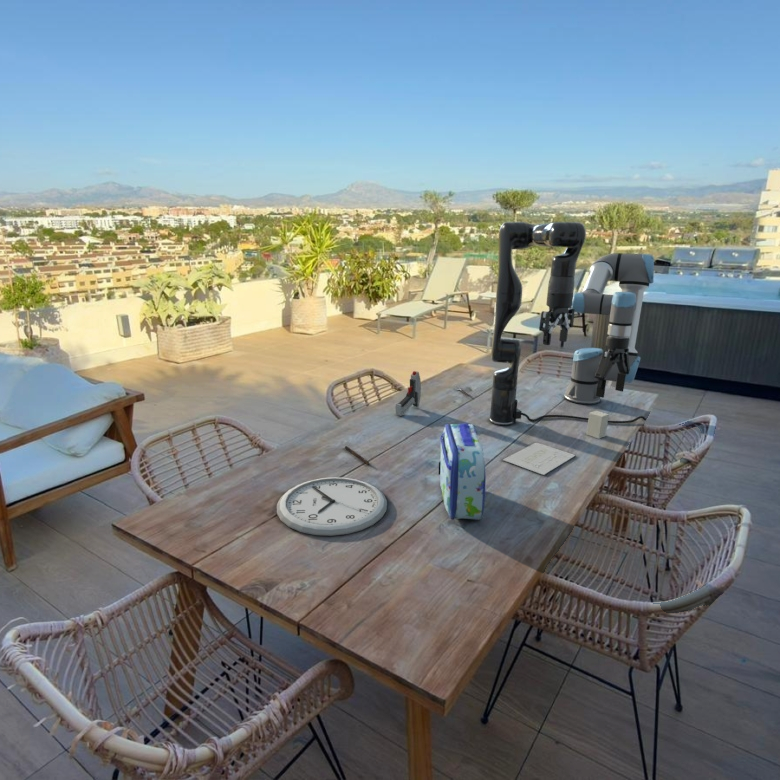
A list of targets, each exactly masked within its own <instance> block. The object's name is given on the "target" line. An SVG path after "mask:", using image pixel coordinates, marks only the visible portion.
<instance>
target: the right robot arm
mask: <svg viewBox="0 0 780 780" xmlns="http://www.w3.org/2000/svg"><path fill="white" fill-rule="evenodd" d="M654 272H655V257H654V256H653V254H649V253H648V254H646V253H620V252H612V253H609V254H606V255H603V256H601V257H599V258H598V259H596V260H595V261H594V262H592V264H591V265H590V267H589V269H588V278H587V280H586V282H585V284H584V286H583V288H582V291H580V292H573V301H572V306H571V307H570V308H571V309H574V310H575V311H574V313H577V314H589V315H600V316H601V315H602V316H609V320H608V325H607V336H606V340H605V347H607V348H608V349H607V350H608V351H607V350H603V349H602V348H598V347H585V348H579V349H576V350H575V351H574V354H573V359H572V366H571V374H570V382H569V383H568V386H567V387H566V390H565V391H564V395H563V397H564V399H565V400H566V401H568V402H570V403H574V404H578V405H579V404H580V405H596V404H599V403H600V402H601V399H602V398H603V399H604V398H605V394H606V393H605V392H606V385H607V381H608V382H609V381H610V382H616V383H615V388H614V389H615V391H618V392H624V388H625V383H627V384H631V383H633V382H634V380H635V378H636V374H637V371H638V368H639V365H640V362H641V356H638V354H639V352H638V350H636V343H637V337H638V329H639V324H640V317H641V313H642V306H643V299H644V293H645V291H647V289H649V288H650V284H653V283H654V278H655V277H654V274H655V273H654ZM608 282H618V286H619V288H620V290H621V291H616V292H614V293H613V294H606V293H604V292H605V289H606V287H607V284H608Z"/></svg>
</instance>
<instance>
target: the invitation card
mask: <svg viewBox="0 0 780 780" xmlns="http://www.w3.org/2000/svg"><path fill="white" fill-rule="evenodd" d="M576 456H577V455H576V454H573V453H570V452H567V451H565V450H561V449H558V448H555V447H552V446H549V445H546V444H543V443H539V442H534V443H532V444H529V445H528V446H526V447H524V448H522V449H520V450H518V451H516V452H514V453H512V454H510V455H509V456H507V457H505V458H503V459H502V461H503V462H506V463H509V464H511V465H514V466H518V467H520V468H523V469H525V470H528V471H531V472H534V473H536V474H539V475H541V476H545V475H547V474H548V473H550V472H552V471H554V469H556V468H558V467H559V466H561V465H563V464H564V463H566V462H568V461H570V460H571V459H572V458H574V457H576Z"/></svg>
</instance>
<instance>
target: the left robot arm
mask: <svg viewBox="0 0 780 780" xmlns="http://www.w3.org/2000/svg"><path fill="white" fill-rule="evenodd" d="M586 237H587V231H586V227H585V225H584V224H583V223H581V222H578V221H577V222H576V221H575V222H574V221H556V222H547V223H540V224H537V225H535V224H532V223H529V222H525V221H508V222H503V223H502V225H501V226H500V228H499V230H498V242H497V243H498V245H497V246H498V266H497V267H498V269H497V283H496V290H495V291H496V293H495V310H494V311H495V313H494V325H493V335H492V339H491V340H492V341H491V348H490V350H491V351H490V356H491V357H490V358H491V361H492V362H494V363H499V364H509V365H508V366H507V367H504V368H501V369H497V370H495V371H494V372H493V374H492V388H491V399H490V410H489V411H490V413H489V414H490V415H489V422H490V423H491V424H494V425H497V426H511V425H513V424H516V423H517V420H521V419H522V416H523V417H525V418H526V419H527V420H528V421H529V422H537V421H539V420H542V419H544V418H567V419H575V420H583V421H588V419H589V417H583V416H575V415H567V414H566V415H565V414H545V415H540V416H539V417H537V418H534V419H533V418H531V417H530V416H529V415H528V414H527V413H524V412H522V410H521V409H519V408H518V399H517V388H518V377H519V376H518V375H519V366H520V359H521V353H522V352H521V351H522V343H521V341H520V340H519V339H515V338H502V335H503V333H504V331H505V329H506V327H507V325H508V324H509V323H510V322H511V320H512V319H513V318H514V316H515V315H516V314H517V312H518V311H519V309H520V308H521V306H522V301H523V300H522V299H523V284H522V281H521V280H520V277H519V276H518V274H517V271H516V270H515V268H514V265H513V259H512V251H513V250H524V249H528V248H530V247H533V246H537V247H547V248H548V247H551V248H552V247H555V248H566V249H565V251H564V252H563V253H561V254H558V255H555V256H553V257H552V259H551V265H550V275H549V279H548V286H547V293H546V294H547V296H546V306H547V307H548V310H547V311H546V310H545V311H544V310H542V311H541V313H540V318H539V319H540V320H539V325H538V326H539V327H538V331H539V332H542V333H543V336H542V344H543V345H544V346H550V345H551V341H552V332H553V331H554V328H556V327H557V326H558V325H559V327H560V329H559V331H560V332H559V338H558V340H559V342H563V343H566V342H567V340H568V333H569V331H570V329H571V328H573V327H574V321H575V312H574V311H575V310H574V309H571V306H572V301H573V295H574V293H575V276H576V267H577V262H578V259H579V256H580V253H581V251H582V248H583V246H584V244H585V241H586ZM640 419H643V420H644V421H647V418H646V417H645V416H643V415H639V416H637V417H635V418H633V419H629V420H608V423H607V424H630V423H634V422H636V421H638V420H640Z"/></svg>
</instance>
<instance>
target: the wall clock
mask: <svg viewBox="0 0 780 780" xmlns="http://www.w3.org/2000/svg"><path fill="white" fill-rule="evenodd" d="M387 509H388V500H387V498H386V496H385V494H384V493H383V492H382V491H381V490H380V489H379V488H377V487H376V486H374V485H372V484H371V483H369V482H365V481H362V480H359V479H355V478H349V477H338V476H337V477H335V476H333V477H332V476H331V477H322V478H317V479H312V480H307V481H305V482H302V483H299V484H297V485H295V486H293V487H292V488H290V489H288V490H287V491H286V492H285V493H284V494H283V495H281V496H280V498H279V499H278V502H277V503H276V515H277V517H278V518H279V520H280V521H281V522H282V523H283V524H285V525H286V526H287V527H288V528H290V529H293V530H295V531H297V532H299V533H303V534H308V535H312V536H327V537H328V536H329V537H331V536H332V537H333V536H342V535H350V534H352V533H356V532H361V531H363V530H366V529H368V528H369V527H372V526H373V525H375V524H376V523H378V522H379V521H380V520H381V519H382V518H383V517H384V516H385V514H386V512H387Z"/></svg>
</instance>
